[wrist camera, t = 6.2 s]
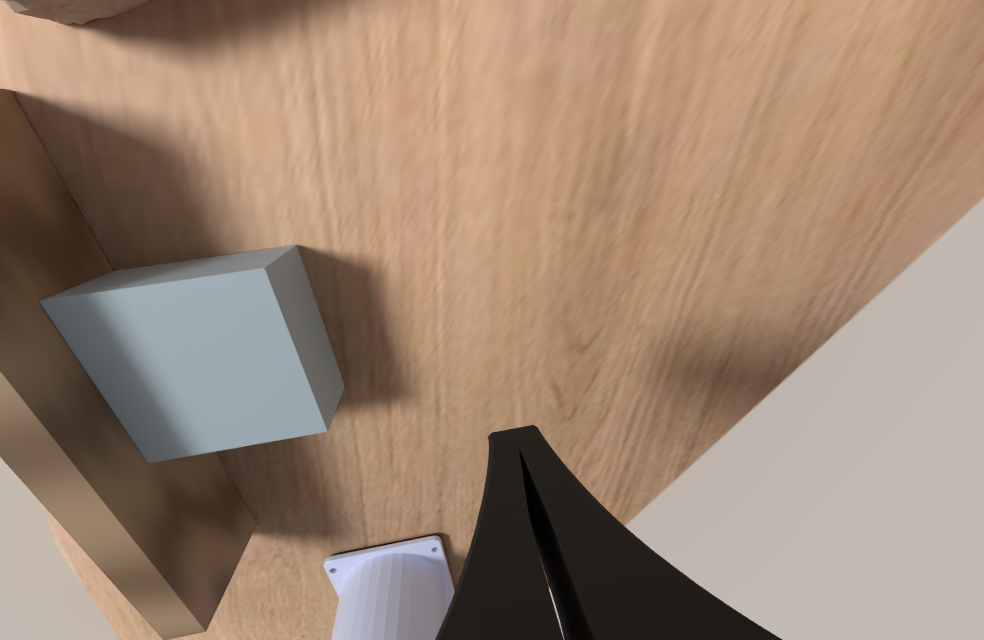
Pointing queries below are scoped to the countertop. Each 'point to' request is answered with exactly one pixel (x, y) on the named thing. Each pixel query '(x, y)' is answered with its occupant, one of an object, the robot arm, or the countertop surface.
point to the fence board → (97, 417)
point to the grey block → (205, 351)
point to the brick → (72, 9)
